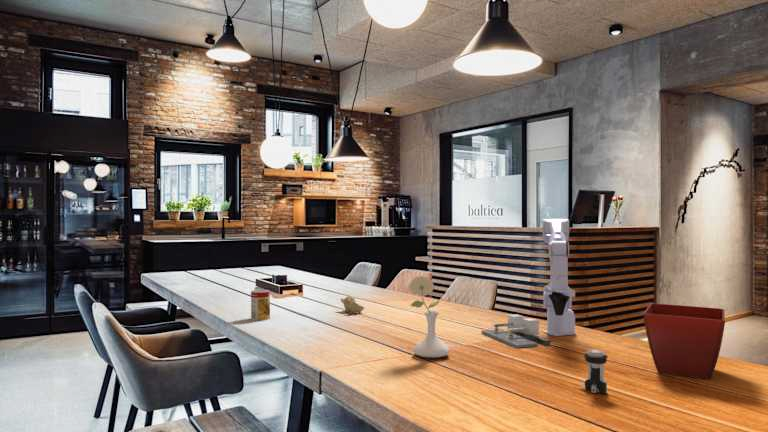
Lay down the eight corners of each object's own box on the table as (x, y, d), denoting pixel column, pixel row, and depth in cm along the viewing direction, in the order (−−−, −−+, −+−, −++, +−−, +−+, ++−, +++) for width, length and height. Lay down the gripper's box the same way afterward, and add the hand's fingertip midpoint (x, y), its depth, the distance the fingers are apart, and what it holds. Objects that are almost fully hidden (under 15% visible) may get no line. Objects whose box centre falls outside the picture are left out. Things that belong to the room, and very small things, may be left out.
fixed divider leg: (517, 327, 202) (517, 314, 202) (523, 329, 199) (523, 316, 199) (491, 329, 199) (491, 316, 199) (496, 331, 195) (496, 318, 195)
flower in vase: (453, 352, 172) (452, 274, 172) (445, 362, 161) (444, 278, 161) (413, 349, 176) (413, 273, 176) (403, 358, 165) (403, 277, 165)
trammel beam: (512, 330, 204) (512, 326, 204) (550, 344, 181) (550, 340, 181) (507, 331, 203) (507, 327, 203) (545, 345, 181) (545, 340, 181)
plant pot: (725, 385, 137) (725, 319, 137) (643, 374, 147) (642, 312, 147) (725, 367, 153) (724, 308, 153) (650, 358, 164) (650, 303, 164)
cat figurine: (351, 301, 238) (340, 291, 249) (345, 316, 239) (334, 304, 249) (366, 305, 243) (355, 294, 253) (360, 319, 244) (349, 308, 254)
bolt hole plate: (500, 331, 202) (500, 328, 202) (537, 346, 180) (537, 342, 180) (481, 333, 200) (481, 330, 200) (517, 348, 177) (517, 344, 177)
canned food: (273, 318, 233) (273, 290, 233) (260, 321, 226) (260, 292, 226) (260, 316, 237) (260, 289, 237) (247, 319, 230) (247, 291, 230)
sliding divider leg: (532, 332, 193) (532, 318, 193) (538, 335, 189) (538, 320, 189) (505, 335, 189) (505, 320, 190) (511, 337, 186) (511, 322, 186)
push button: (575, 391, 134) (575, 350, 134) (584, 385, 138) (583, 346, 138) (603, 396, 129) (602, 355, 129) (610, 391, 133) (610, 351, 133)
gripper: (536, 273, 190) (536, 312, 190) (562, 278, 177) (562, 319, 176) (553, 273, 192) (553, 311, 192) (580, 277, 179) (580, 318, 179)
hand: (559, 315), depth 185 cm, fingers closed
